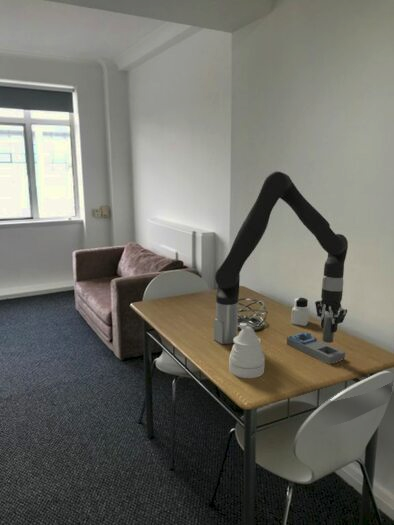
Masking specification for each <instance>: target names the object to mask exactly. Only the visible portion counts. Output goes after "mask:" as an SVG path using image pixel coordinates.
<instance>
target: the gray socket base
mask: <svg viewBox="0 0 394 525" xmlns="http://www.w3.org/2000/svg"><path fill="white" fill-rule="evenodd" d="M286 345H288V346H290V347H292V348H294V349H296V350H298V351H300V352H302V353H303V354H304V353H305V354H306V355H308V356H310V355H311V357H312V356H313V357H312V358H314V357H315V359H316V358H317V359H316V360H318V359H320V360H319V361H321V360H322V361H321V362H323V361H324V362H323V363H325V362H326V363H325V364H327V363H328V364H327V365H329V364H330V365H332V364H331V363H333V362H336V361H339V360H341V359H344V358H345V359H346V351H343V350H341V349H339V348H337V347H335V346H332V345H330V344H328V343H326V342H324V341H321V340H318V339H317V338H316V337H315V336H312V333H311V332H309V331H308V332H306V333H305V332H299V333H296V334H293V335H290V336H288V337H286ZM327 353H328V354H327ZM345 359H344V360H345ZM339 362H340V361H339ZM336 363H337V362H336ZM333 364H334V363H333Z"/></svg>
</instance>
